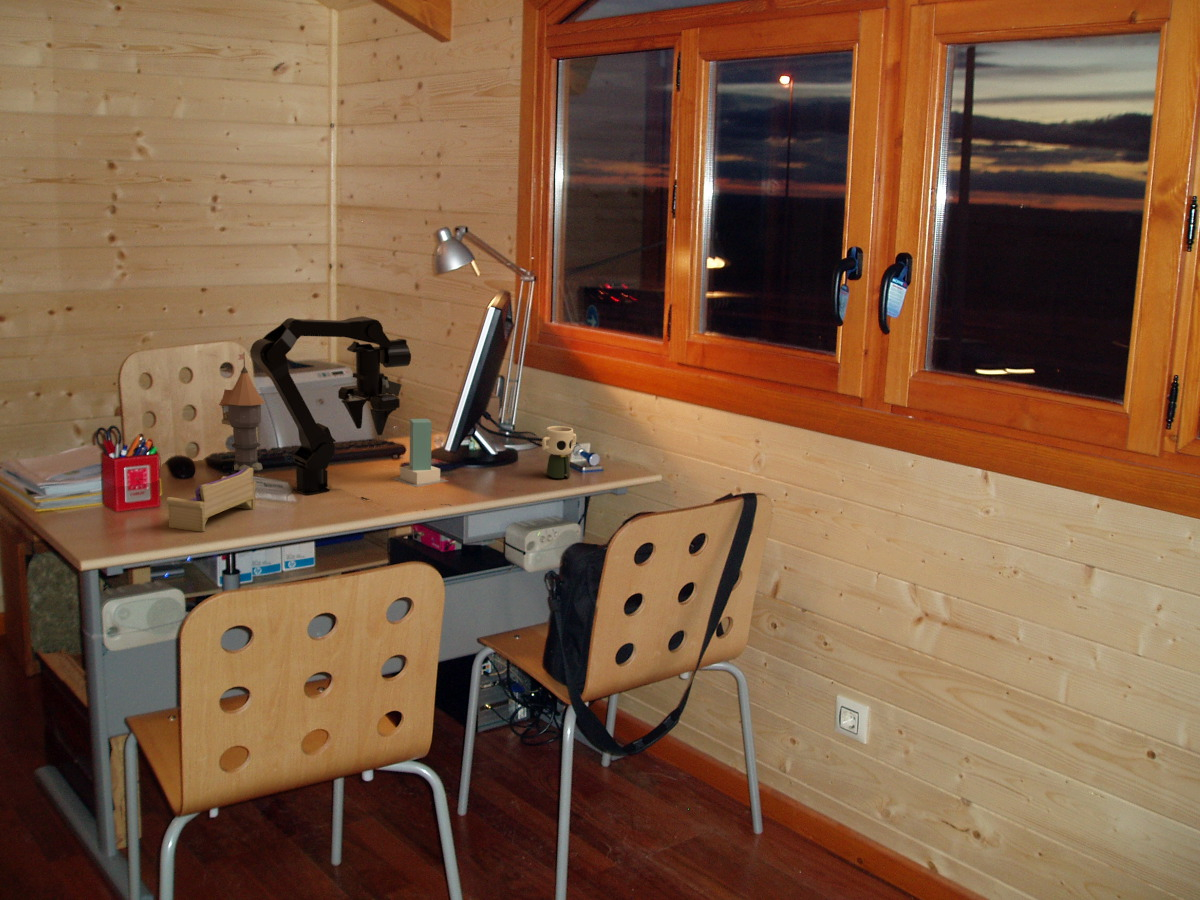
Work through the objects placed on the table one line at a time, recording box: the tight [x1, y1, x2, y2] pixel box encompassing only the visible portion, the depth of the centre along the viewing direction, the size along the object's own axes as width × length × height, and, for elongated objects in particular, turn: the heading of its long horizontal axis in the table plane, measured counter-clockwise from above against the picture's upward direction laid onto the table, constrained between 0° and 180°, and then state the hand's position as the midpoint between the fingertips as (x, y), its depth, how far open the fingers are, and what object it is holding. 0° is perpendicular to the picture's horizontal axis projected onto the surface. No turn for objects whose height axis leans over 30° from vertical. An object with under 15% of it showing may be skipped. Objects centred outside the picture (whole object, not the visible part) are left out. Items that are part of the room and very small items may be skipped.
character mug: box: [541, 425, 577, 479], centre depth 294 cm, size 11×7×13 cm, turn 130°
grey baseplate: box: [391, 476, 448, 488], centre depth 281 cm, size 10×10×2 cm
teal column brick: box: [409, 418, 433, 471], centre depth 278 cm, size 4×4×12 cm
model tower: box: [218, 352, 266, 472], centre depth 287 cm, size 10×11×30 cm
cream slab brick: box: [399, 465, 441, 485], centre depth 280 cm, size 7×7×3 cm
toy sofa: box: [165, 468, 258, 533], centre depth 246 cm, size 21×9×10 cm, turn 164°
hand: (369, 431), depth 278 cm, fingers open, 9 cm apart
